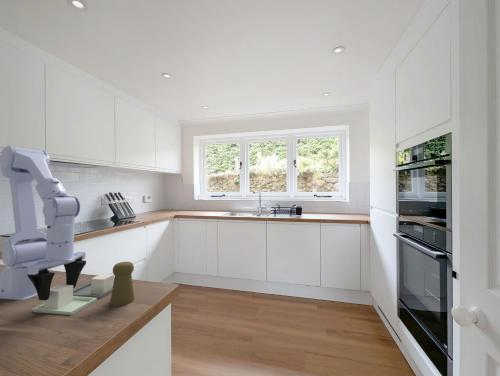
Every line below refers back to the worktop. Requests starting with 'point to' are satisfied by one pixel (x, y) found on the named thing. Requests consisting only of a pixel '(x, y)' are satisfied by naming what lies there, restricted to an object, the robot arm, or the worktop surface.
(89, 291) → the tray
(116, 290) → the cork
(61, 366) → the worktop surface
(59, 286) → the stone block
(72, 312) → the tray
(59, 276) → the worktop surface
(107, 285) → the stone block
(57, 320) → the worktop surface
